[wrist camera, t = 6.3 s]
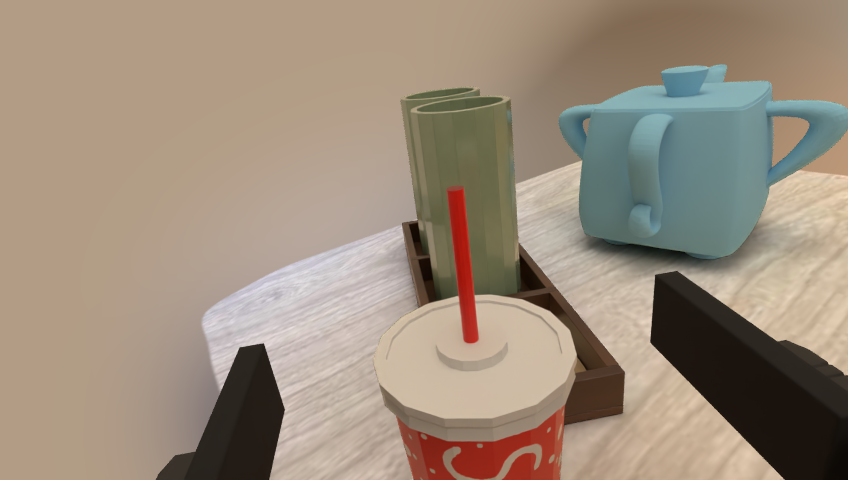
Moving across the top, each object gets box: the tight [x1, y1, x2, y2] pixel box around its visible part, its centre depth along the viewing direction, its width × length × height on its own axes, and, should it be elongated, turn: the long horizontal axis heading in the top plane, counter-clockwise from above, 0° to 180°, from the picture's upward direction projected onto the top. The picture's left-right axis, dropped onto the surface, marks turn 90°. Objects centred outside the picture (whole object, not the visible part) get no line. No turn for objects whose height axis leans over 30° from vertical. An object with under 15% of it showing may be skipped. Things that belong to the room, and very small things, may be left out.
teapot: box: [559, 65, 848, 259], centre depth 38 cm, size 18×16×14 cm
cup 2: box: [410, 96, 521, 302], centre depth 31 cm, size 6×6×14 cm
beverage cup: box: [373, 185, 577, 480], centre depth 15 cm, size 6×6×14 cm
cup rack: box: [402, 220, 625, 424], centre depth 33 cm, size 25×9×2 cm, turn 7°
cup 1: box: [401, 87, 480, 255], centre depth 38 cm, size 6×6×14 cm
